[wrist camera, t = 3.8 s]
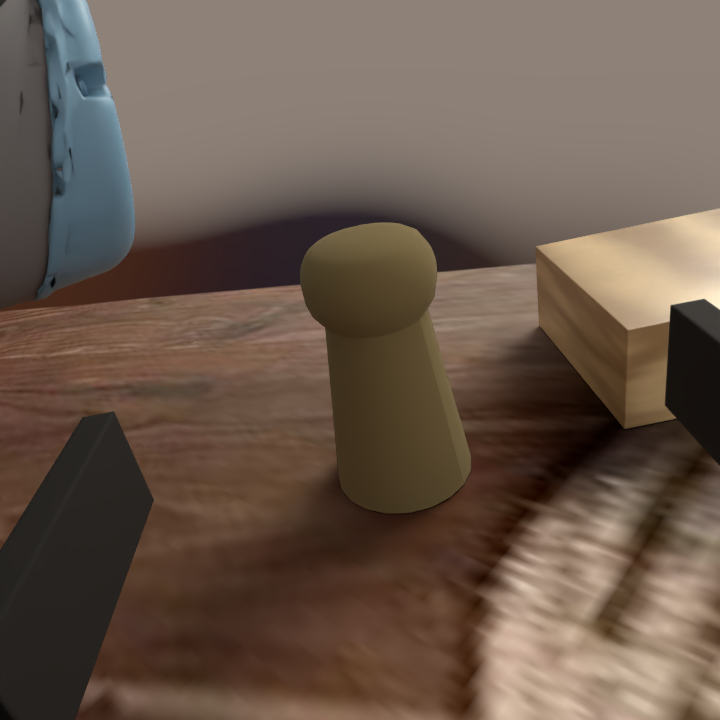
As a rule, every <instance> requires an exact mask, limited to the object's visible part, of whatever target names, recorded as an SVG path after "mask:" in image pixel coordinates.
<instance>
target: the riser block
mask: <svg viewBox="0 0 720 720" xmlns="http://www.w3.org/2000/svg"><path fill="white" fill-rule="evenodd" d="M536 269H537V290H538V312H539V325H540V327H541V328H542V329H543V330H544V331H545V333H546V334H547V335H548V336H549V338H550V339H551V340H552V341H553V342H554V344H555V345H556V346H557V347H558V349H559V350H560V351H561V352H562V353H563V355H564V356H565V357H566V358H567V360H568V361H569V362H570V363H571V364H572V366H573V367H574V368H575V369H576V371H577V372H578V373H579V374H580V375H581V377H582V378H583V379H584V380H585V381H586V383H587V384H588V385H589V386H590V388H591V389H592V390H593V391H594V392H595V394H596V395H597V396H598V397H599V399H600V400H601V401H602V402H603V403H604V405H605V406H606V407H607V408H608V410H609V411H610V412H611V413H612V414H613V416H614V417H615V418H616V419H617V420H618V422H619V423H620V424H621V425H622V427H623V428H624V429H628V428H633V427H638V426H642V425H647V424H652V423H657V422H662V421H667V420H672V419H677V418H676V417H675V416H674V415H673V414H672V413H671V412H670V411H669V410H668V408H667V407H666V406H665V392H666V375H667V358H668V341H669V324H670V307H671V305H674V304H679V303H684V302H689V301H695V300H700V299H706V300H707V301H708V302H710V303H711V304H713V305H714V306H716V307H717V308H718V309H720V209H715V210H710V211H705V212H700V213H695V214H691V215H686V216H681V217H676V218H671V219H667V220H662V221H657V222H652V223H647V224H642V225H637V226H632V227H628V228H623V229H618V230H613V231H608V232H603V233H599V234H594V235H589V236H584V237H579V238H575V239H570V240H565V241H561V242H555V243H550V244H546V245H541V246H536Z"/></svg>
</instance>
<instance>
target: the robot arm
mask: <svg viewBox="0 0 720 720" xmlns="http://www.w3.org/2000/svg"><path fill="white" fill-rule="evenodd" d="M130 181H131V180H130V174H129V169H128V164H127V158H126V153H125V148H124V143H123V138H122V133H121V129H120V125H119V120H118V116H117V112H116V108H115V104H114V100H113V98H112V95H111V93H110V91H109V89H108V87H107V85H106V73H105V69H104V66H103V63H102V57H101V51H100V46H99V41H98V38H97V34H96V30H95V27H94V24H93V20H92V17H91V14H90V11H89V7H88V4H87V1H86V0H0V309H2V308H6V307H10V306H13V305H17V304H21V303H24V302H27V301H31V300H33V301H36V300H40V299H44V298H47V297H48V296H50V295H51V294H52V292H53V291H55V290H57V289H60V288H63V287H65V286H68V285H71V284H74V283H77V282H79V281H82V280H85V279H87V278H90V277H93V276H96V275H98V274H101V273H104V272H106V271H109V270H110V269H112V268H114V267H115V266H116V265H118V264H119V263H120V262H121V261H122V260H123V259H124V258H125V256H126V255H127V254H128V252H129V250H130V248H131V245H132V243H133V238H134V232H135V213H134V201H133V194H132V187H131V182H130ZM665 406H666V407H667V408H668V410H669V411H670V412H671V413H672V414H673V415H674V416H675V417H676V418H677V419H678V420H679V422H680V423H681V424H682V425H683V426H684V427H685V428H686V429H687V430H688V431H689V432H690V434H691V435H692V436H693V437H694V438H695V439H696V440H697V441H698V442H699V443H700V444H701V446H702V447H703V448H704V449H705V450H706V451H707V452H708V453H709V454H710V455H711V456H712V458H713V459H714V460H715V461H716V462H717V463H718V464H719V465H720V309H718V308H717V307H716V306H714V305H713V304H711V303H710V302H708V301H707V300H706V299H700V300H695V301H689V302H684V303H679V304H674V305H671V307H670V324H669V341H668V358H667V375H666V392H665ZM153 501H154V499H153V497H152V495H151V493H150V490H149V488H148V486H147V484H146V481H145V479H144V477H143V475H142V473H141V470H140V468H139V466H138V464H137V462H136V459H135V457H134V455H133V453H132V451H131V448H130V446H129V444H128V442H127V440H126V437H125V435H124V433H123V431H122V428H121V426H120V424H119V422H118V420H117V417H116V415H115V413H114V412H109V413H104V414H98V415H93V416H88V417H83V418H82V419H81V421H80V422H79V424H78V426H77V427H76V429H75V431H74V432H73V434H72V435H71V437H70V439H69V440H68V442H67V443H66V445H65V447H64V448H63V450H62V452H61V453H60V455H59V456H58V458H57V460H56V461H55V463H54V464H53V466H52V468H51V469H50V471H49V473H48V474H47V476H46V477H45V479H44V481H43V482H42V484H41V485H40V487H39V489H38V490H37V492H36V493H35V495H34V497H33V498H32V500H31V502H30V503H29V505H28V506H27V508H26V510H25V511H24V513H23V514H22V516H21V518H20V519H19V521H18V523H17V524H16V526H15V527H14V529H13V531H12V532H11V534H10V535H9V537H8V539H7V540H6V542H5V544H4V545H3V547H2V548H1V550H0V720H75V718H76V715H77V712H78V709H79V707H80V704H81V701H82V698H83V696H84V693H85V690H86V687H87V684H88V682H89V679H90V676H91V673H92V670H93V668H94V665H95V662H96V659H97V657H98V654H99V651H100V648H101V645H102V643H103V640H104V637H105V634H106V631H107V629H108V626H109V623H110V620H111V618H112V615H113V612H114V609H115V606H116V604H117V601H118V598H119V595H120V592H121V590H122V587H123V584H124V581H125V579H126V576H127V573H128V570H129V567H130V565H131V562H132V559H133V556H134V553H135V551H136V548H137V545H138V542H139V540H140V537H141V534H142V531H143V528H144V526H145V523H146V520H147V517H148V514H149V512H150V509H151V506H152V503H153Z"/></svg>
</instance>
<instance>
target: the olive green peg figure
mask: <svg viewBox="0 0 720 720" xmlns="http://www.w3.org/2000/svg"><path fill="white" fill-rule="evenodd" d="M436 281H437V267H436V258H435V256H434V254H433V251H432V248H431V246H430V245H429V243H428V242H427V241H426V240H425V239H424V237H423V236H422V235H421V234H420V233H419V232H418V231H417V230H416V229H413V228H411V227H408V226H405V225H402V224H398V223H372V224H364V225H359V226H354V227H350V228H346V229H343V230H340V231H337V232H334V233H332V234H330V235H327V236H325V237H323V238H322V239H320V240H319V241H318V242H316V243H315V244H314V245H313V246H312V247H311V248H310V249H309V250H308V251H307V253H306V254H305V257H304V259H303V262H302V265H301V268H300V284H301V288H302V292H303V296H304V300H305V304H306V306H307V308H308V309H309V311H310V313H311V315H312V317H313V318H314V319H315V320H317V321H318V322H319V323H320V324H321V325H323V326H324V327H325V330H326V341H327V352H328V363H329V374H330V385H331V397H332V408H333V419H334V430H335V441H336V452H337V463H338V474H339V480H340V484H341V489H342V490H343V492H344V493H345V494H346V495H347V496H348V498H349V499H350V500H351V501H352V502H354V503H356V504H358V505H360V506H361V507H363V508H365V509H367V510H372V511H377V512H382V513H386V514H390V513H411V512H415V511H419V510H423V509H426V508H430V507H433V506H435V505H437V504H439V503H440V502H442V501H444V500H446V499H448V498H450V497H451V496H452V495H453V494H454V493H455V492H456V491H458V490H459V489H460V488H461V487H462V486H463V485H464V484H465V481H466V479H467V477H468V475H469V473H470V471H471V455H470V451H469V448H468V445H467V441H466V438H465V434H464V431H463V427H462V424H461V421H460V417H459V414H458V410H457V407H456V403H455V400H454V397H453V393H452V390H451V386H450V383H449V379H448V376H447V373H446V369H445V366H444V362H443V359H442V356H441V352H440V349H439V345H438V342H437V338H436V335H435V332H434V328H433V325H432V321H431V318H430V314H429V311H428V307H429V305H430V304H431V302H432V300H433V298H434V296H435V289H436Z"/></svg>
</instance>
